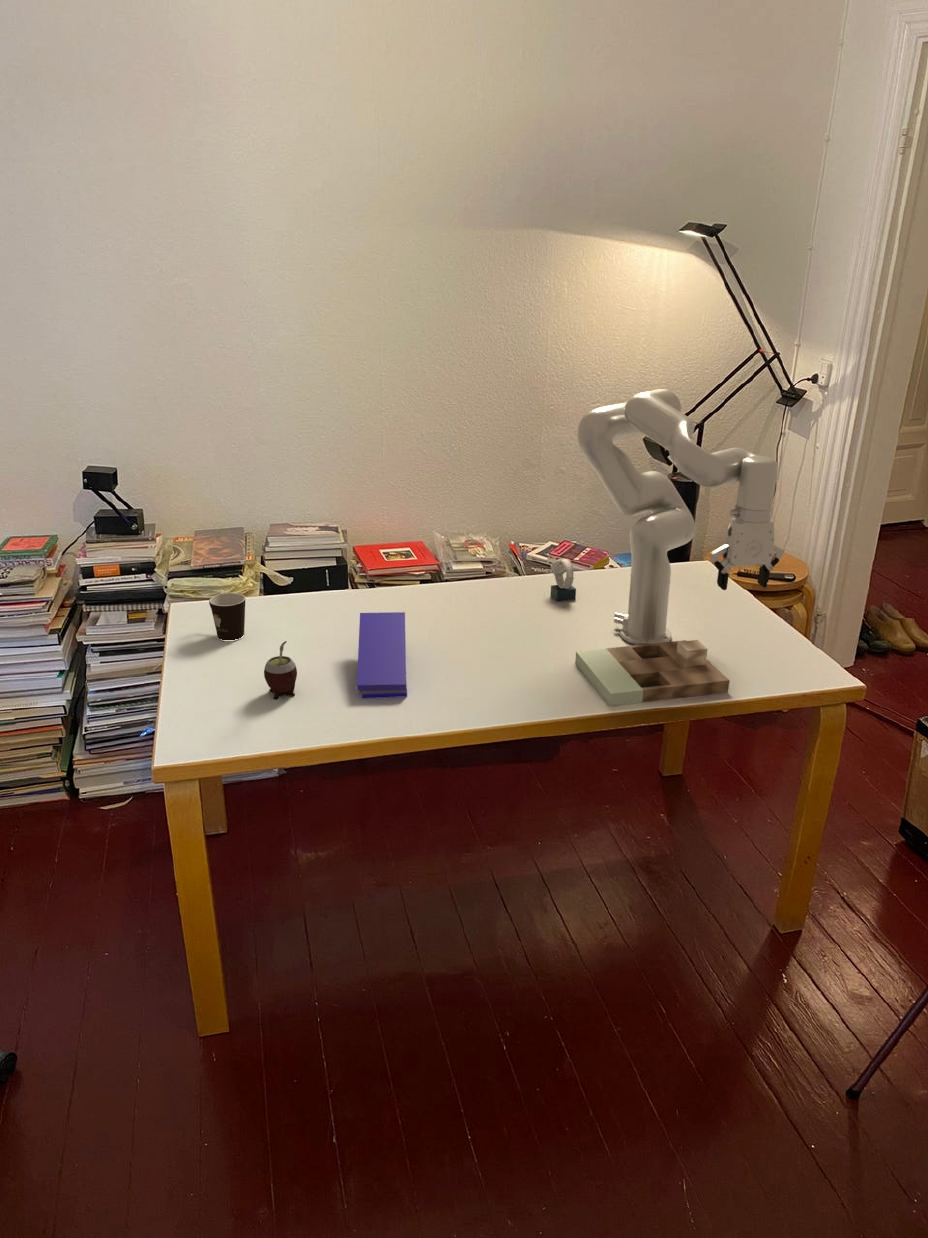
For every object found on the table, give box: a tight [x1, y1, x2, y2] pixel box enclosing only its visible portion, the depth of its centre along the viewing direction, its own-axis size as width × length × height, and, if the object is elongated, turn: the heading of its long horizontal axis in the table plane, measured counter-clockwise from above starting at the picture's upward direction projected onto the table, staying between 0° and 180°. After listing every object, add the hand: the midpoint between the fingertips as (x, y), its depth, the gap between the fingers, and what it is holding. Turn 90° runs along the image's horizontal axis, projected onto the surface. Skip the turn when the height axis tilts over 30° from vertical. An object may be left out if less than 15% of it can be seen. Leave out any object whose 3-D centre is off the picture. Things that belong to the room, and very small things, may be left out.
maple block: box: [676, 639, 708, 667], centre depth 229 cm, size 5×5×4 cm
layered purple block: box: [356, 611, 408, 699], centre depth 229 cm, size 12×28×10 cm, turn 5°
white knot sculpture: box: [550, 557, 577, 603], centre depth 271 cm, size 6×8×11 cm
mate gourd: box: [263, 640, 298, 701], centre depth 217 cm, size 8×8×15 cm
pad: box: [574, 647, 643, 707], centre depth 226 cm, size 8×22×3 cm, turn 14°
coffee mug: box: [208, 592, 246, 640], centre depth 247 cm, size 12×9×10 cm
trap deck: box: [606, 640, 731, 703], centre depth 229 cm, size 20×22×3 cm
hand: (742, 586), depth 224 cm, fingers open, 9 cm apart
